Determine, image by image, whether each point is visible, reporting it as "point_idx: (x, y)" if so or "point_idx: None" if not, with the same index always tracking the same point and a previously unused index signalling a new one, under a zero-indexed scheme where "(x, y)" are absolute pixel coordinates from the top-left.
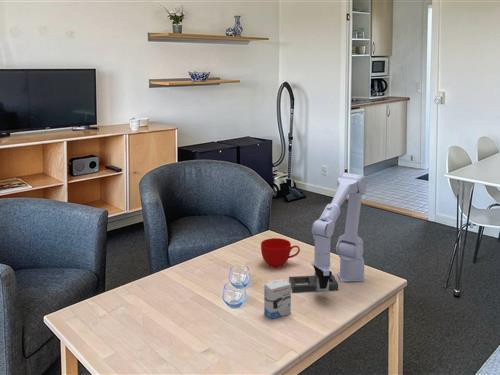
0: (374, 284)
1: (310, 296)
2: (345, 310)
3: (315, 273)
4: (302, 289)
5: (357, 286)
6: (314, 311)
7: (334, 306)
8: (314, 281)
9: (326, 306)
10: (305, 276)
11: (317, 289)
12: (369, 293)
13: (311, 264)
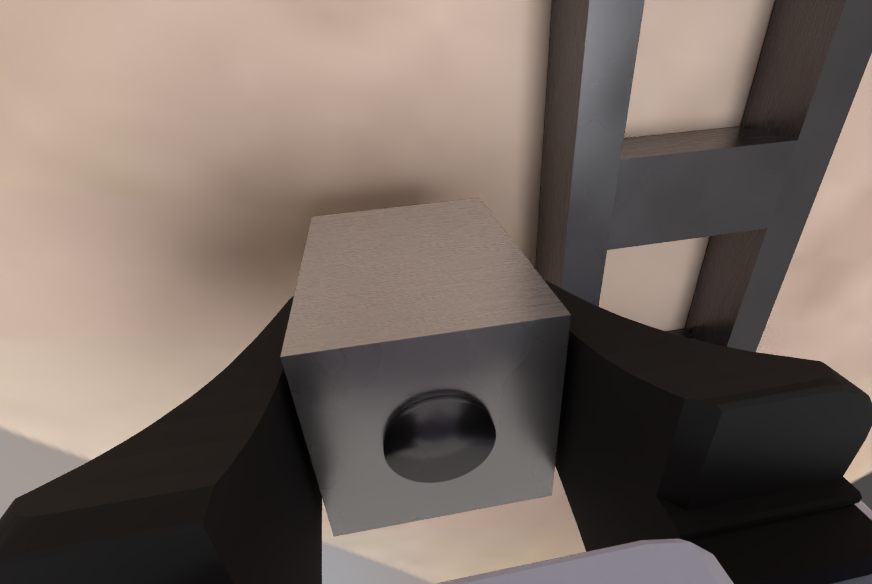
0: (565, 552)
1: (427, 117)
2: (155, 414)
3: (523, 332)
4: (565, 22)
5: (560, 484)
6: (22, 122)
7: (216, 338)
8: (499, 230)
9: (199, 269)
10: (837, 108)
11: (308, 243)
12: (453, 535)
13: (556, 573)
